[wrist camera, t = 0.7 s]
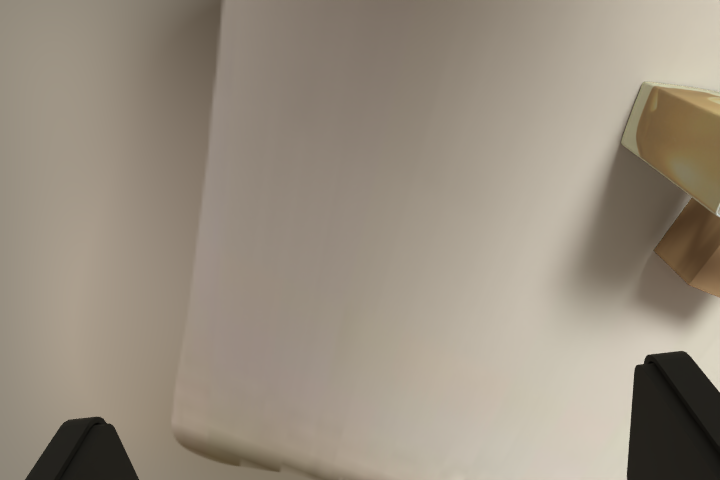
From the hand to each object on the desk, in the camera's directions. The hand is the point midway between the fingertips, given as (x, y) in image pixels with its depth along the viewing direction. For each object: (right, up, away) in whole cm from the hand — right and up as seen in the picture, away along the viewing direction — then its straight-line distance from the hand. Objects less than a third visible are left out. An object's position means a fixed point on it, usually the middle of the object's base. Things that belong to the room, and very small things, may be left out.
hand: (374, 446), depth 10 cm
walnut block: (+24, +4, +30) cm, 39 cm away
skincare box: (+20, +12, +27) cm, 35 cm away
